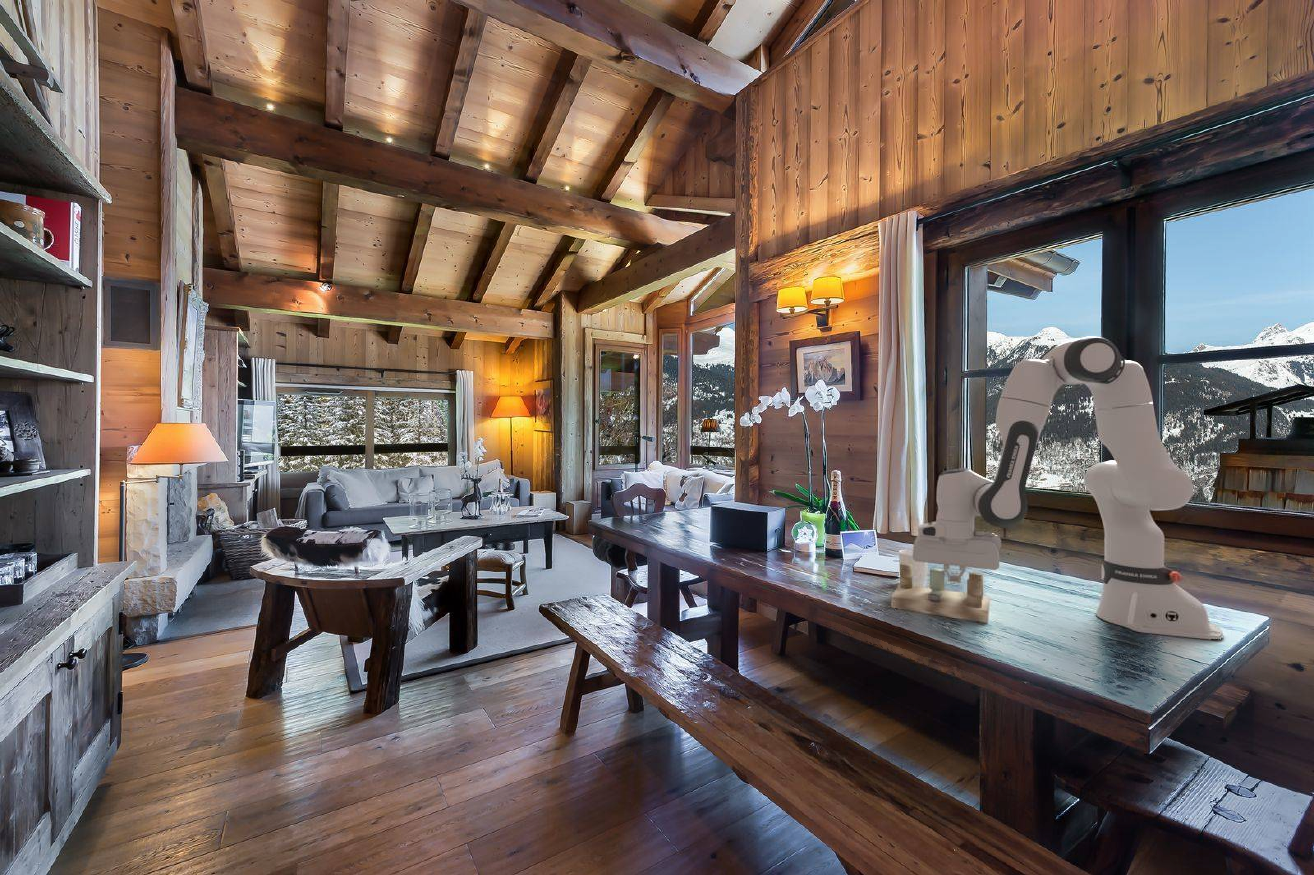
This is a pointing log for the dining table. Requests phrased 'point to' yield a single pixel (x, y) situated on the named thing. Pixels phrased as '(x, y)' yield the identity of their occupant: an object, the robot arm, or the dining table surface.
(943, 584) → the folding leg
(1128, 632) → the dining table surface
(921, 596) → the wooden base with posts
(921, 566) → the white cup
